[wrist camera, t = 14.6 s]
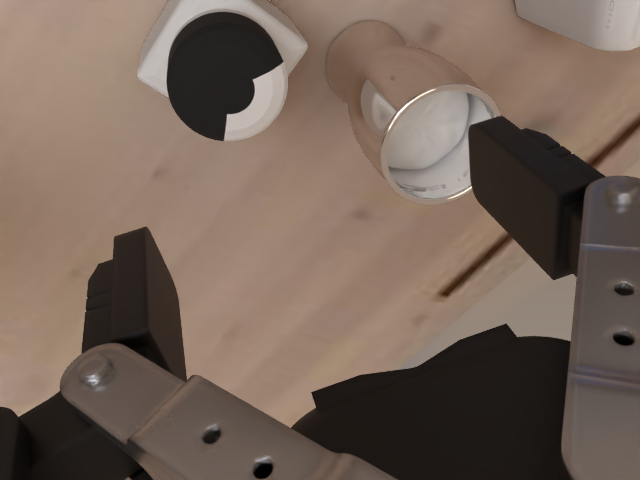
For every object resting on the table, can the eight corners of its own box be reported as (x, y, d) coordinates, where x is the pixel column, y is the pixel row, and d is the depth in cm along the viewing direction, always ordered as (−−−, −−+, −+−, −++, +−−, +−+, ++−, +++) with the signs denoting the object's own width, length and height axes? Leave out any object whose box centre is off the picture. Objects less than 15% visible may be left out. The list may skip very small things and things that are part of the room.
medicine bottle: (141, 45, 38) (126, 108, 28) (199, -52, 36) (205, -21, 26) (233, 104, 41) (248, 180, 31) (292, 19, 39) (329, 71, 29)
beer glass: (348, 128, 44) (412, 231, 32) (300, 51, 40) (351, 133, 28) (428, 77, 43) (527, 162, 31) (386, -8, 39) (479, 50, 27)
